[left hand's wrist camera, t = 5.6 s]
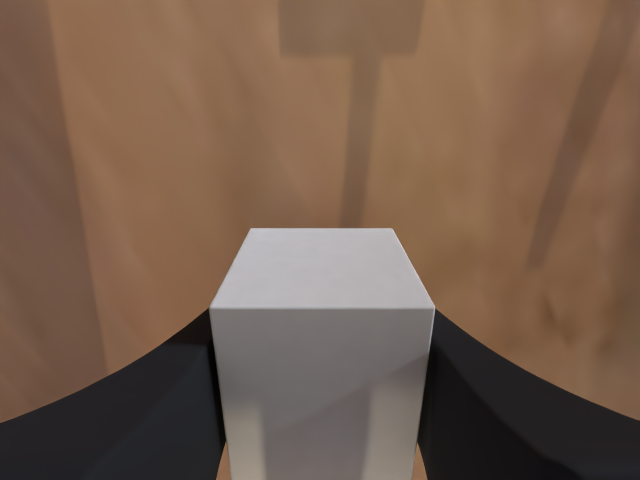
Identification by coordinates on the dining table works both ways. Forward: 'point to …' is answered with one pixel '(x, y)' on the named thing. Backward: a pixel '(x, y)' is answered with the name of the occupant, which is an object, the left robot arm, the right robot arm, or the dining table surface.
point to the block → (321, 355)
